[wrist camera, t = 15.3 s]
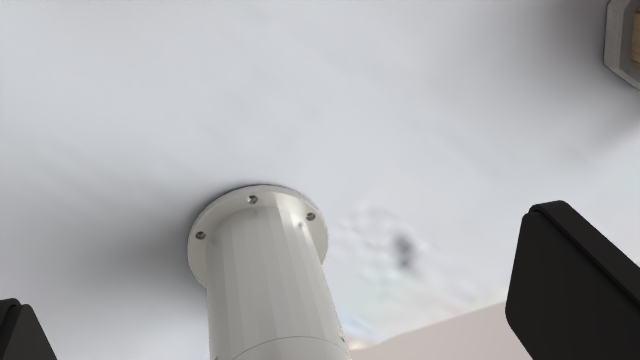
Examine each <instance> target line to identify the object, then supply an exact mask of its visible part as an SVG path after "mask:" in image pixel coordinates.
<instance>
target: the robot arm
mask: <svg viewBox="0 0 640 360" xmlns="http://www.w3.org/2000/svg"><path fill="white" fill-rule="evenodd" d="M251 195H253V196H251ZM328 243H329V236H328V231H327V227H326V224H325V221H324V219H323V217H322V215H321V213H320V211H319V210H318V208H317V207H316V206H315V205H314V204H313V203H312V202H311V201H310V200H309V199H307V198H306V197H304V196H303V195H301V194H300V193H297V192H295V191H293V190H290V189H288V188H283V187H279V186H270V185H257V186H249V187H244V188H241V189H237V190H234V191H231V192H229V193H227V194H225V195H223V196H221V197H219V198H218V199H216V200H215V201H213V202H212V203H210V204H209V205H208V206H207V207H206V208H205V209H204V210H203V211H202V212H201V213H200V214H199V216H198V217H197V219H196V220H195V222H194V223H193V225H192V228H191V230H190V233H189V236H188V244H187V258H188V262H189V266H190V269H191V271H192V273H193V275H194V276H195V278H196V279H197V280H198V281H199V283H200V284H201V285H202V286H203V287H205V288H206V289H207V297H208V322H209V348H210V360H352V358H351V355H350V352H349V349H348V346H347V343H346V340H345V337H344V334H343V331H342V327H341V324H340V321H339V318H338V315H337V312H336V309H335V306H334V303H333V300H332V297H331V294H330V291H329V288H328V285H327V282H326V279H325V276H324V273H323V270H322V267H321V266H322V264H323V262H324V260H325V258H326V254H327V251H328ZM505 314H506V318H507V321H508V324H509V325H510V327H511V329H512V330H513V331H514V333H515V334H516V336H517V337H518V339H519V340H520V342H521V343H522V344H523V346H524V347H525V349H526V350H527V352H528V353H529V355H530V356H531V357H532V359H533V360H640V267H638V266H637V265H636V264H635V263H634V262H633V261H632V260H631V259H629V258H628V257H627V256H626V255H625V254H624V253H623V252H622V251H620V250H619V249H618V248H617V247H616V246H615V245H614V244H613V243H611V242H610V241H609V240H608V239H607V238H606V237H605V236H604V235H602V234H601V233H600V232H599V231H598V230H597V229H596V228H595V227H593V226H592V225H591V224H590V223H589V222H588V221H587V220H586V219H584V218H583V217H582V216H581V215H580V214H579V213H578V212H577V211H576V210H574V209H573V208H572V207H571V206H570V205H569V204H568V203H566V202H564V201H561V200H558V201H552V202H547V203H541V204H536V205H533V206H532V207H531V208H530V209H529V212H528V213H527V214H525V215H524V216H523V218H522V222H521V227H520V233H519V238H518V243H517V249H516V254H515V259H514V264H513V270H512V275H511V280H510V286H509V291H508V296H507V301H506V307H505ZM0 360H57V358H56V356H55V354H54V352H53V350H52V348H51V346H50V344H49V342H48V340H47V337H46V335H45V333H44V331H43V329H42V327H41V325H40V323H39V321H38V319H37V317H36V315H35V313H34V311H33V309H32V307H31V306H30V305H29V304H24V305H21V304H20V302H19V301H18V300H17V299H15V298H10V299H5V300H0Z"/></svg>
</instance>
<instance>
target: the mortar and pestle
mask: <svg viewBox="0 0 640 360" xmlns="http://www.w3.org/2000/svg"><path fill="white" fill-rule="evenodd" d="M603 65H605V66H606V67H608V68H609V69H610V70H612V71H613V72H614V73H616V74H617V75H619V76H620V77H621V78H623V79H624V80H625V81H627V82H628V83H629V84H631V85H632V86H634V87H635V88H636V89H638V90H639V91H640V0H611V1H610V2H609V4H608V6H607V20H606V35H605V49H604V63H603Z"/></svg>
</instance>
